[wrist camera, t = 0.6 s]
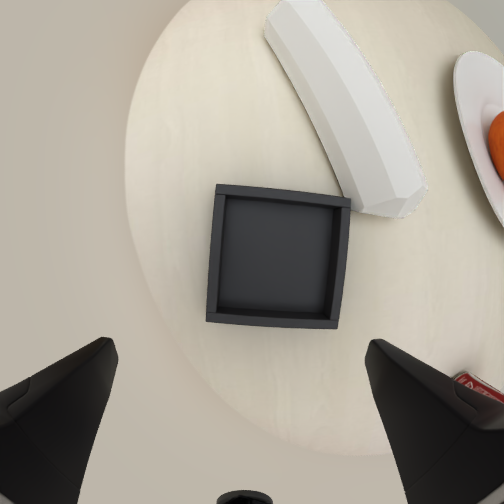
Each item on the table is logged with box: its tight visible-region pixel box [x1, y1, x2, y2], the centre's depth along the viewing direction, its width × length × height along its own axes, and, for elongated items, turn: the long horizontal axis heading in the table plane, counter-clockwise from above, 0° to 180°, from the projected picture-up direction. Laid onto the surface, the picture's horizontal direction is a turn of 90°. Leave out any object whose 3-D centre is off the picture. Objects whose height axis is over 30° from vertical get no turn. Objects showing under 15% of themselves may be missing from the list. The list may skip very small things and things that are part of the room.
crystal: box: [264, 0, 428, 218], centre depth 20 cm, size 7×7×24 cm
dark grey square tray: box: [206, 184, 351, 329], centre depth 22 cm, size 11×11×3 cm
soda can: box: [454, 372, 504, 403], centre depth 19 cm, size 7×7×12 cm
